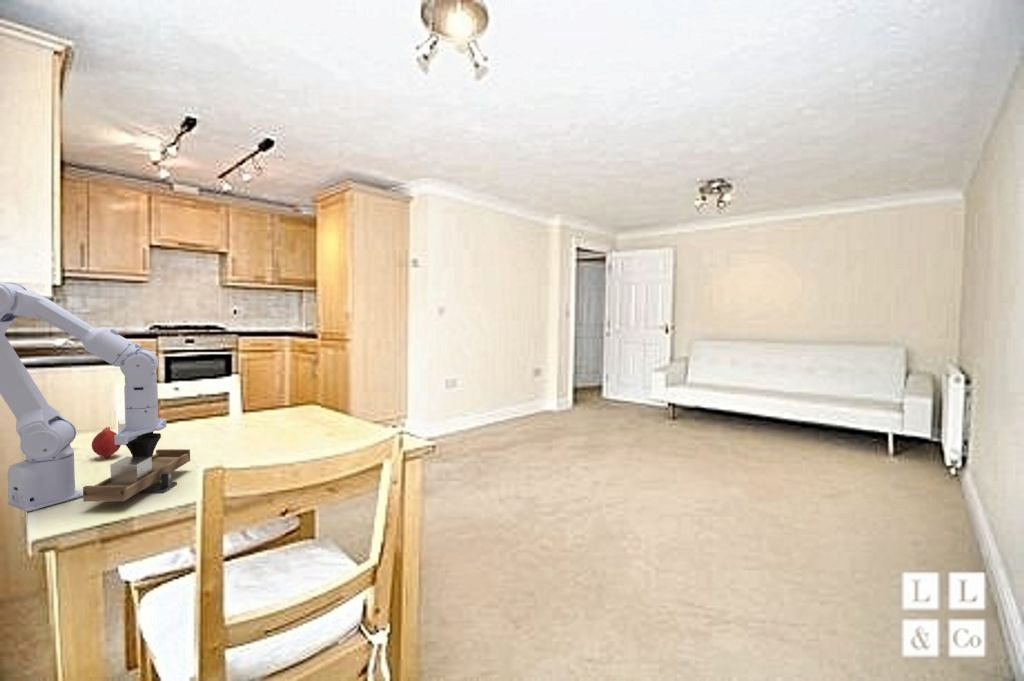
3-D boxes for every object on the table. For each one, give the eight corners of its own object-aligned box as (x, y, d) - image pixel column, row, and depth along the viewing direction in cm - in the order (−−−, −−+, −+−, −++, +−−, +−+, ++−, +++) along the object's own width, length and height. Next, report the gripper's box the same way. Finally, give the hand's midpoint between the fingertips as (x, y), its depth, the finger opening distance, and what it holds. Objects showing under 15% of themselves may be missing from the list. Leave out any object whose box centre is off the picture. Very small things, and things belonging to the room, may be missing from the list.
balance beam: (124, 501, 97) (124, 487, 97) (82, 501, 97) (82, 487, 96) (190, 460, 121) (190, 449, 121) (157, 460, 120) (157, 449, 120)
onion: (104, 462, 125) (104, 430, 125) (86, 460, 126) (85, 428, 126) (127, 455, 131) (126, 425, 130) (108, 453, 132) (108, 423, 131)
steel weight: (137, 483, 103) (136, 464, 103) (111, 483, 103) (110, 464, 102) (152, 474, 108) (151, 456, 108) (127, 474, 108) (126, 456, 107)
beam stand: (163, 493, 107) (163, 476, 107) (107, 493, 106) (106, 477, 106) (177, 484, 112) (176, 469, 112) (122, 484, 111) (122, 469, 111)
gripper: (140, 413, 101) (142, 480, 102) (180, 399, 115) (181, 458, 116) (102, 413, 100) (104, 480, 101) (147, 399, 115) (148, 458, 116)
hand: (143, 468), depth 109 cm, fingers closed
